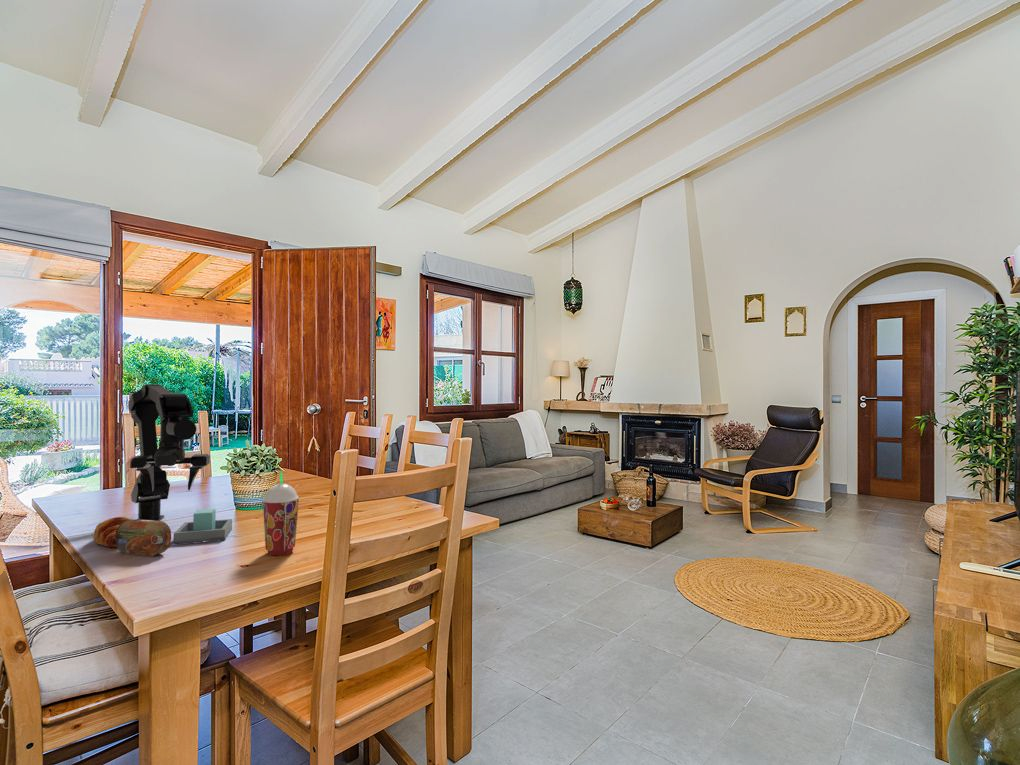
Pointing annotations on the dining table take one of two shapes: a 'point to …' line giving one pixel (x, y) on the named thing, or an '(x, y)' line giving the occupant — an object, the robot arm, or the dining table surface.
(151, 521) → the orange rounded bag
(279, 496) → the smoothie
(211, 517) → the block
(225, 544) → the dining table surface
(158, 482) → the robot arm
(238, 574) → the dining table surface
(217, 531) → the bin
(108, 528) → the croissant
